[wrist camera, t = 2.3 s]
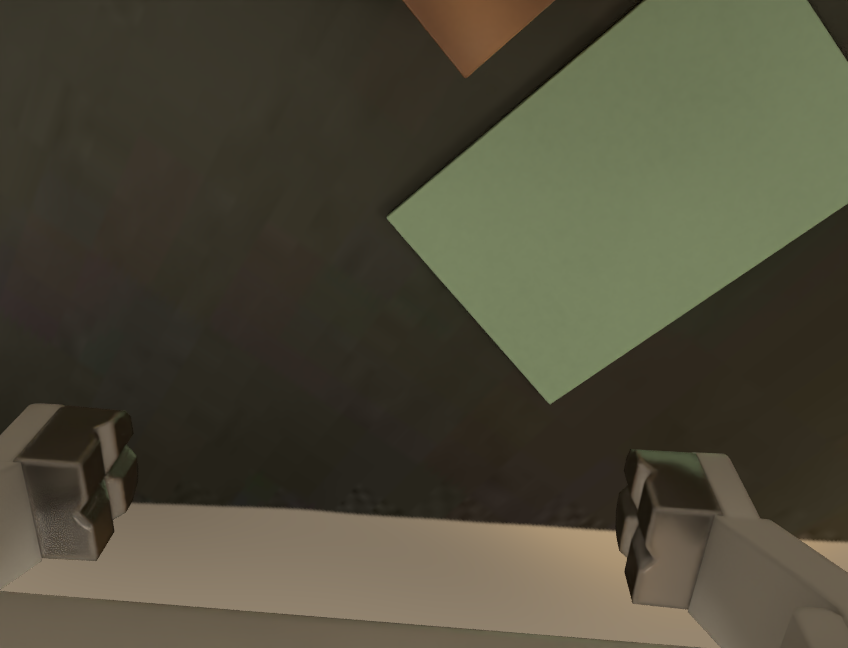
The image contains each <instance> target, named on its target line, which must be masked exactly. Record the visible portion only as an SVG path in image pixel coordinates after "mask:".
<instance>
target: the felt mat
mask: <svg viewBox="0 0 848 648" xmlns="http://www.w3.org/2000/svg"><path fill="white" fill-rule="evenodd" d="M846 204H848V62H847V60H846V59H845V57H844V55H843V54H842V52H841V51H840V49H839V48H838V46H837V45H836V43H835V42H834V40H833V39H832V37H831V36H830V34H829V33H828V31H827V30H826V28H825V27H824V25H823V24H822V22H821V20H820V19H819V17H818V16H817V14H816V13H815V11H814V10H813V8H812V7H811V5H810V4H809V2H808V1H807V0H643V1H642V2H641V3H640V4H638V5H637V6H636V7H635V8H634V9H632V10H631V11H630V12H629V13H628V14H627V15H625V16H624V17H623V18H622V19H621V20H619V21H618V22H617V23H616V24H615V25H613V26H612V27H611V28H610V29H609V30H607V31H606V32H605V33H604V34H603V35H602V36H600V37H599V38H598V39H597V40H596V41H594V42H593V43H592V44H591V45H590V46H588V47H587V48H586V49H585V50H584V51H583V52H581V53H580V54H579V55H578V56H577V57H575V58H574V59H573V60H572V61H571V62H569V63H568V64H567V65H566V66H565V67H563V68H562V69H561V70H560V71H559V72H558V73H556V74H555V75H554V76H553V77H552V78H550V79H549V80H548V81H547V82H546V83H544V84H543V85H542V86H541V87H540V88H538V89H537V90H536V91H535V92H534V93H533V94H531V95H530V96H529V97H528V98H527V99H525V100H524V101H523V102H522V103H521V104H519V105H518V106H517V107H516V108H515V109H514V110H512V111H511V112H510V113H509V114H508V115H506V116H505V117H504V118H503V119H502V120H500V121H499V122H498V123H497V124H496V125H494V126H493V127H492V128H491V129H490V130H489V131H487V132H486V133H485V134H484V135H483V136H481V137H480V138H479V139H478V140H477V141H475V142H474V143H473V144H472V145H471V146H469V147H468V148H467V149H466V150H465V151H464V152H462V153H461V154H460V155H459V156H458V157H456V158H455V159H454V160H453V161H452V162H450V163H449V164H448V165H447V166H446V167H444V168H443V169H442V170H441V171H440V172H439V173H437V174H436V175H435V176H434V177H433V178H431V179H430V180H429V181H428V182H427V183H425V184H424V185H423V186H422V187H421V188H420V189H418V190H417V191H416V192H415V193H414V194H412V195H411V196H410V197H409V198H408V199H406V200H405V201H404V202H403V203H402V204H400V205H399V206H398V207H397V208H396V209H395V210H393V211H392V212H391V213H390V214H389V215H388V216H387V219H388V221H389V222H390V223H391V224H392V225H393V226H394V227H395V229H396V230H397V231H398V232H399V233H400V234H401V235H402V237H403V238H404V239H405V240H406V241H407V242H408V243H409V245H410V246H411V247H412V248H413V249H414V250H415V251H416V252H417V254H418V255H419V256H420V257H421V258H422V259H423V260H424V262H425V263H426V264H427V265H428V266H429V267H430V268H431V270H432V271H433V272H434V273H435V274H436V275H437V276H438V278H439V279H440V280H441V281H442V282H443V283H444V284H445V286H446V287H447V288H448V289H449V290H450V291H451V292H452V294H453V295H454V296H455V297H456V298H457V299H458V300H459V302H460V303H461V304H462V305H463V306H464V307H465V308H466V310H467V311H468V312H469V313H470V314H471V315H472V316H473V318H474V319H475V320H476V321H477V322H478V323H479V324H480V326H481V327H482V328H483V329H484V330H485V331H486V332H487V334H488V335H489V336H490V337H491V338H492V339H493V340H494V341H495V343H496V344H497V345H498V346H499V347H500V348H501V349H502V351H503V352H504V353H505V354H506V355H507V356H508V357H509V359H510V360H511V361H512V362H513V363H514V364H515V365H516V367H517V368H518V369H519V370H520V371H521V372H522V373H523V375H524V376H525V377H526V378H527V379H528V380H529V381H530V383H531V384H532V385H533V386H534V387H535V388H536V389H537V391H538V392H539V393H540V394H541V395H542V396H543V397H544V399H545V400H546V401H547V402H548V403H549V404H551V403H552V402H554V401H555V400H557V399H558V398H560V397H561V396H563V395H564V394H566V393H567V392H569V391H570V390H572V389H573V388H575V387H576V386H578V385H579V384H581V383H582V382H584V381H585V380H587V379H588V378H590V377H591V376H592V375H594V374H595V373H597V372H598V371H600V370H601V369H603V368H604V367H606V366H607V365H609V364H610V363H612V362H613V361H615V360H616V359H618V358H619V357H621V356H622V355H624V354H625V353H627V352H628V351H630V350H631V349H633V348H634V347H635V346H637V345H638V344H640V343H641V342H643V341H644V340H646V339H647V338H649V337H650V336H652V335H653V334H655V333H656V332H658V331H659V330H661V329H662V328H664V327H665V326H667V325H668V324H670V323H671V322H673V321H674V320H676V319H677V318H678V317H680V316H681V315H683V314H684V313H686V312H687V311H689V310H690V309H692V308H693V307H695V306H696V305H698V304H699V303H701V302H702V301H704V300H705V299H707V298H708V297H710V296H711V295H713V294H714V293H716V292H717V291H719V290H720V289H721V288H723V287H724V286H726V285H727V284H729V283H730V282H732V281H733V280H735V279H736V278H738V277H739V276H741V275H742V274H744V273H745V272H747V271H748V270H750V269H751V268H753V267H754V266H756V265H757V264H759V263H760V262H762V261H763V260H764V259H766V258H767V257H769V256H770V255H772V254H773V253H775V252H776V251H778V250H779V249H781V248H782V247H784V246H785V245H787V244H788V243H790V242H791V241H793V240H794V239H796V238H797V237H799V236H800V235H802V234H803V233H805V232H806V231H807V230H809V229H810V228H812V227H813V226H815V225H816V224H818V223H819V222H821V221H822V220H824V219H825V218H827V217H828V216H830V215H831V214H833V213H834V212H836V211H837V210H839V209H840V208H842V207H843V206H845V205H846Z"/></svg>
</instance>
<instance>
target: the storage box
mask: <svg viewBox="0 0 848 648" xmlns="http://www.w3.org/2000/svg"><path fill="white" fill-rule="evenodd" d="M402 1H403V2H404V3H405V4H406V6H407V7H408V8H409V9H410V11H411V12H412V13H413V14H414V16H415V17H416V18H417V19H418V21H419V22H420V23H421V24H422V26H423V27H424V28H425V29H426V31H427V32H428V33H429V34H430V36H431V37H432V38H433V39H434V40H435V42H436V43H437V44H438V45H439V47H440V48H441V49H442V50H443V52H444V53H445V54H446V55H447V57H448V58H449V59H450V60H451V62H452V63H453V64H454V65H455V67H456V68H457V69H458V70H459V72H460V73H461V74H462V75H463V77H464V78H467V77H468V76H469V75H471V74H472V73H473V72H474V71H475V70H476V69H477V68H479V67H480V66H481V65H482V64H483V63H484V62H485V61H486V60H488V59H489V58H490V57H491V56H492V55H493V54H494V53H496V52H497V51H498V50H499V49H500V48H501V47H502V46H504V45H505V44H506V43H507V42H508V41H509V40H510V39H512V38H513V37H514V36H515V35H516V34H517V33H518V32H520V31H521V30H522V29H523V28H524V27H525V26H526V25H527V24H529V23H530V22H531V21H532V20H533V19H534V18H535V17H537V16H538V15H539V14H540V13H541V12H542V11H543V10H545V9H546V8H547V7H548V6H549V5H550V4H551V3H553V2H554V1H555V0H402Z"/></svg>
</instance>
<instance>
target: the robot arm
mask: <svg viewBox="0 0 848 648" xmlns="http://www.w3.org/2000/svg"><path fill="white" fill-rule="evenodd" d="M133 434H134V433H133V427H132V422H131V416H130V415H129V414H128V413H127V412H126V411H121V410H110V409H100V408H89V407H79V406H68V405H67V406H64V405H57V404H43V403H36V404H32V405H29V406H28V407H27V408H26V409H25V410H24V411H23V412H22V413H21V414H20V415H19V416H18V417H17V418H16V420H15V421H14V422H13V423H12V424H11V425H10V426H9V427H8V428H7V429H6V430H5V431H4V432H3V433H2V434H1V435H0V590H1V589H2V588H4V587H5V586H7V585H8V584H10V583H11V582H12V581H14V580H15V579H17V578H18V577H20V576H21V575H23V574H24V573H25V572H27V571H28V570H30V569H31V568H33V567H34V566H35V565H37V564H38V563H40V562H41V561H42V558H49V559H68V560H89V561H97V559H98V558H99V556H100V554H101V553H102V551H103V549H104V548H105V546H106V544H107V543H108V541H109V540H110V538H111V536H112V535H113V533H114V526H113V520H114V519H115V518H117V517H119V516H121V515H122V514H124V513H126V511H127V510H128V508H129V506H130V504H131V502H132V501H133V498H134V494H135V491H136V487H137V483H138V463H137V456H136V455H135V454H134V453H133V451H132V450H131V449H130V448H129V447H128V446H127V445H126V444H127V443H128V441H129V440H130V438H131V437H132V435H133ZM624 473H625V477H626V480H627V484H628V485H627V486H626V487H625V488H624V489H623V490H622V491H621V492H620V493H619V497H618V502H617V508H616V536H617V542H618V547H619V551H620V552H621V553H622V554H624V555H625V556H626V557H627V562H626V567H625V576H626V579H627V584H628V587H629V591H630V595H631V599H632V603H633V604H641V605H650V606H660V607H670V608H679V609H688V612H689V614H690V615H691V616H692V617H693V618H694V619H695V620H696V621H697V622H698V623H699V624H700V626H701V627H702V628H703V629H704V630H705V631H706V632H707V633H708V634H709V635H710V636H711V638H712V639H713V640H714V641H715V642H716V643H717V644H718V645H719V646H720V647H721V648H848V572H846V571H844V570H843V569H842V568H840V567H839V566H837V565H836V564H834V563H833V562H831V561H830V560H828V559H827V558H825V557H824V556H823V555H821V554H819V553H818V552H816V551H815V550H814V549H812V548H811V547H809V546H808V545H806V544H805V543H803V542H802V541H800V540H799V539H798V538H796V537H795V536H793V535H792V534H790V533H789V532H787V531H786V530H784V529H783V528H781V527H780V526H778V525H777V524H776V523H774V522H773V521H771V520H768V519H760V517H759V515H758V513H757V511H756V509H755V507H754V505H753V503H752V501H751V499H750V497H749V495H748V494H747V492H746V490H745V488H744V486H743V484H742V482H741V480H740V478H739V476H738V474H737V472H736V470H735V468H734V466H733V464H732V462H731V460H730V458H729V457H728V456H726V455H725V454H718V453H694V452H693V453H683V452H666V451H649V450H632V449H630V451H629V453H628V455H627V458H626V463H625V467H624ZM0 648H698V647H686V646H674V645H662V644H649V643H637V642H624V641H612V640H600V639H587V638H575V637H562V636H550V635H537V634H525V633H512V632H500V631H488V630H476V629H462V628H451V627H437V626H425V625H413V624H400V623H388V622H376V621H363V620H351V619H338V618H327V617H314V616H302V615H301V616H300V615H288V614H277V613H264V612H252V611H240V610H228V609H215V608H203V607H190V606H178V605H165V604H153V603H141V602H129V601H116V600H103V599H90V598H79V597H67V596H54V595H42V594H30V593H17V592H5V591H0Z"/></svg>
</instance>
